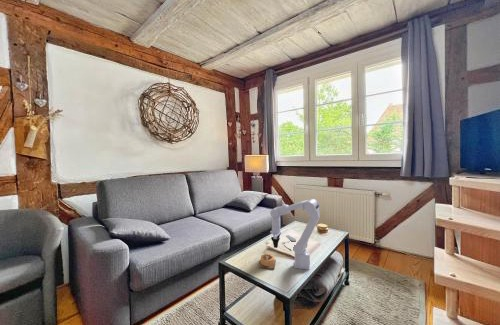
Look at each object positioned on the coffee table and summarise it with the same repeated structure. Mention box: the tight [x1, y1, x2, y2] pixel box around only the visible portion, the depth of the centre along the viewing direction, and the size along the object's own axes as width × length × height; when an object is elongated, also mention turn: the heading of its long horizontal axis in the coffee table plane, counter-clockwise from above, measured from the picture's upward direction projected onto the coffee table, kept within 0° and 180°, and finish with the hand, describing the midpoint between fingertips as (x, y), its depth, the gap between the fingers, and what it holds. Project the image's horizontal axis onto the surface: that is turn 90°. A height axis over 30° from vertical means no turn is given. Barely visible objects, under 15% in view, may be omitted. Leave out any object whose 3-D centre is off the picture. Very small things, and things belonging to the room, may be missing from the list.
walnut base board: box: [257, 258, 277, 270], centre depth 137 cm, size 10×10×1 cm
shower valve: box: [285, 234, 297, 242], centre depth 163 cm, size 12×6×15 cm
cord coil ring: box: [260, 253, 275, 266], centre depth 137 cm, size 8×8×4 cm
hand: (276, 244), depth 144 cm, fingers open, 7 cm apart
